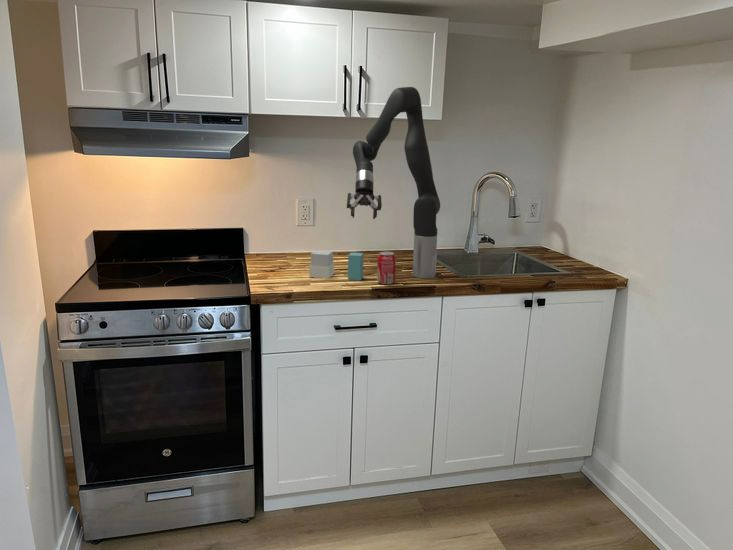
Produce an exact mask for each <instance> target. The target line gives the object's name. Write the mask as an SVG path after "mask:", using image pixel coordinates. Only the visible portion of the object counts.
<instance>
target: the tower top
mask: <svg viewBox="0 0 733 550" xmlns="http://www.w3.org/2000/svg"><path fill="white" fill-rule="evenodd" d="M333 263H334V250H333V251H332V250H320V249H316V250H314V251H313V252H311V253H310V265H311V266H319V267H329V266H330V265H331V264H333Z"/></svg>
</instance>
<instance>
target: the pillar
mask: <svg viewBox="0 0 733 550" xmlns="http://www.w3.org/2000/svg"><path fill="white" fill-rule="evenodd" d="M347 265H348V266H347V280H348V279H351V280H350V281H359V280H360V281H361V280H362V279H363V278H364V253H362V252H350V253H349V254H348V257H347Z"/></svg>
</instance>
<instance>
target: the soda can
mask: <svg viewBox="0 0 733 550" xmlns="http://www.w3.org/2000/svg"><path fill="white" fill-rule="evenodd" d="M396 260H397V259H396V256H395V253H394V252H393V251H379V254H378V256H377V263H376V264H377V265H376V266H377V268H376V270H377V271H376V272H377V273H376V274H377V275H376V279H377V280H376V281H377V283H379V284H380V283H381V284H380V285H384V284H390V285H393V283H395V282H396V281H395V280H396V268H397V267H396V265H397V264H396V262H397V261H396Z"/></svg>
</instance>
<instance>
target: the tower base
mask: <svg viewBox="0 0 733 550" xmlns="http://www.w3.org/2000/svg"><path fill="white" fill-rule="evenodd" d="M308 268H309V270H308V271H309V272H308V273H309V275H308V278H309V277H314V278H313V279H320V278H326V279H325V280H329V279H331V278H332V277H333V276H334V275H335V262H333V264H331V265H330V266H329V267H319V266H311V264H310V265H309V266H308ZM333 274H334V275H333ZM332 275H333V276H332ZM331 276H332V277H331Z"/></svg>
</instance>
